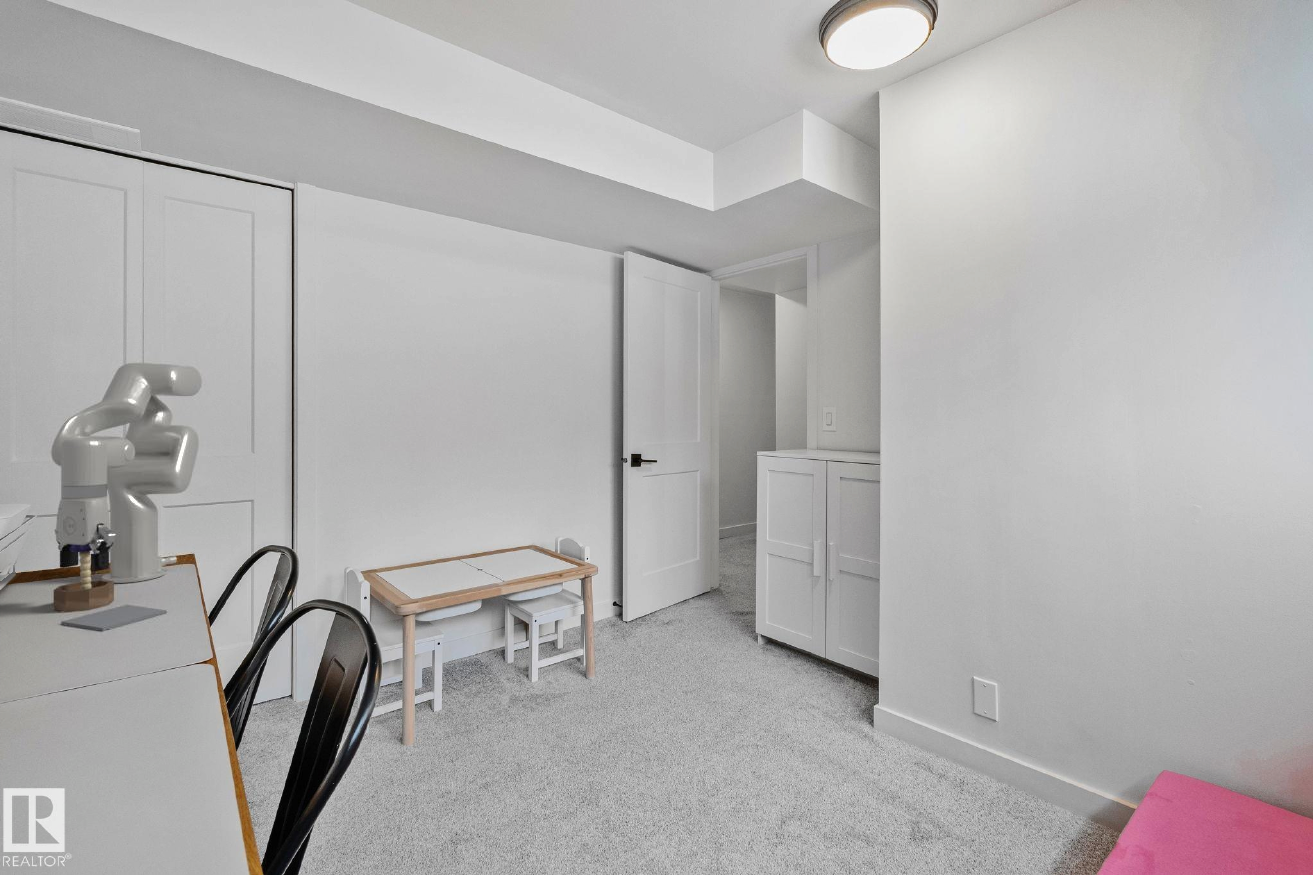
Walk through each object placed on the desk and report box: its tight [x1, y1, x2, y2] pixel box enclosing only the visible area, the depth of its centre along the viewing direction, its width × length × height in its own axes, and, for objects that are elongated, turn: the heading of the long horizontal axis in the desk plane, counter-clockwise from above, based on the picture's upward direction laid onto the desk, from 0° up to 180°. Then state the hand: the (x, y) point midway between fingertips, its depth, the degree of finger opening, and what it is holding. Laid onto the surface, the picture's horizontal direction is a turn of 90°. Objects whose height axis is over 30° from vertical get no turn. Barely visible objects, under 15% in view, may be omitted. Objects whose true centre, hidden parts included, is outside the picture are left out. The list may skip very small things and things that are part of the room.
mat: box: [60, 604, 168, 632], centre depth 127 cm, size 12×12×1 cm
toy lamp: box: [70, 544, 99, 590], centre depth 134 cm, size 5×5×17 cm
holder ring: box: [53, 579, 115, 613], centre depth 135 cm, size 9×9×4 cm
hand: (84, 568), depth 134 cm, fingers open, 9 cm apart
